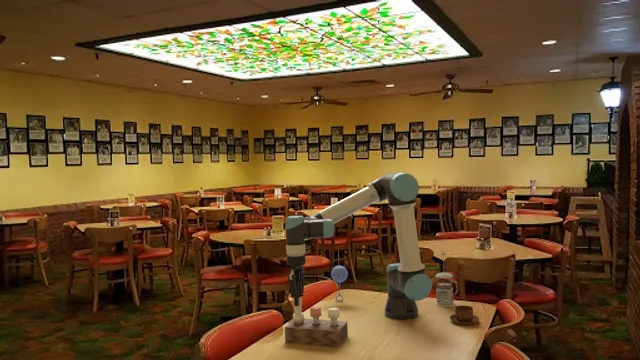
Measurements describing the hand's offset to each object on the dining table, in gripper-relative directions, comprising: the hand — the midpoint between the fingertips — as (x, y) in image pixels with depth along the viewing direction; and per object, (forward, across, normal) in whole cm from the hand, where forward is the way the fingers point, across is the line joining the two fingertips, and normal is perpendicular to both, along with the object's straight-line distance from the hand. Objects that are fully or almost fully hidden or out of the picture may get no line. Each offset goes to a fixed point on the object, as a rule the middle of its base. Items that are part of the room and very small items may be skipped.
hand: (298, 313), depth 196 cm
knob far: (+7, 0, 0) cm, 7 cm away
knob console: (+10, 0, +8) cm, 12 cm away
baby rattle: (+10, -55, 0) cm, 56 cm away
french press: (+10, -60, +52) cm, 80 cm away
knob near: (+4, 0, +15) cm, 16 cm away
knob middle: (+4, 0, +8) cm, 9 cm away
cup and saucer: (+10, -35, +62) cm, 72 cm away
